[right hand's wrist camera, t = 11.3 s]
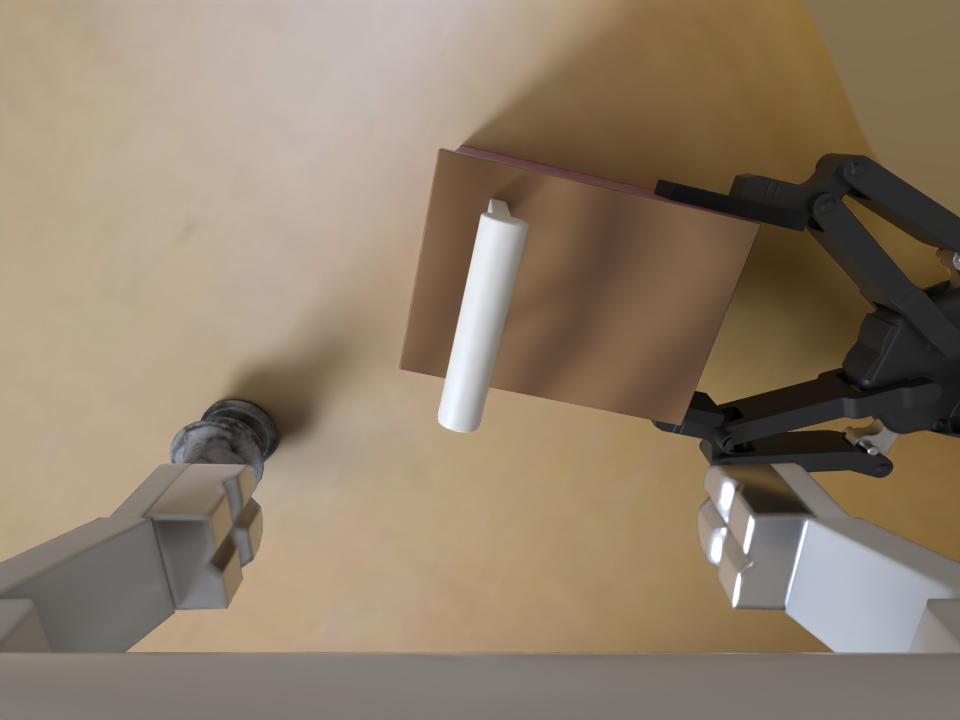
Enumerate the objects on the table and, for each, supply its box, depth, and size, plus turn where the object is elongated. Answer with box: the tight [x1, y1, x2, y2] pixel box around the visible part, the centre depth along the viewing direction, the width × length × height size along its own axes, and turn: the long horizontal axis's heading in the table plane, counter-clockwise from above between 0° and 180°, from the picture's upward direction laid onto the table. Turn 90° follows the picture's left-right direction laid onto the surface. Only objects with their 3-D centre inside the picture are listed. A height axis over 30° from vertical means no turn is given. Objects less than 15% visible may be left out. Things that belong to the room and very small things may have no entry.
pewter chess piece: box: [170, 400, 277, 485], centre depth 34 cm, size 6×6×12 cm
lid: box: [399, 148, 761, 432], centre depth 23 cm, size 14×10×8 cm
